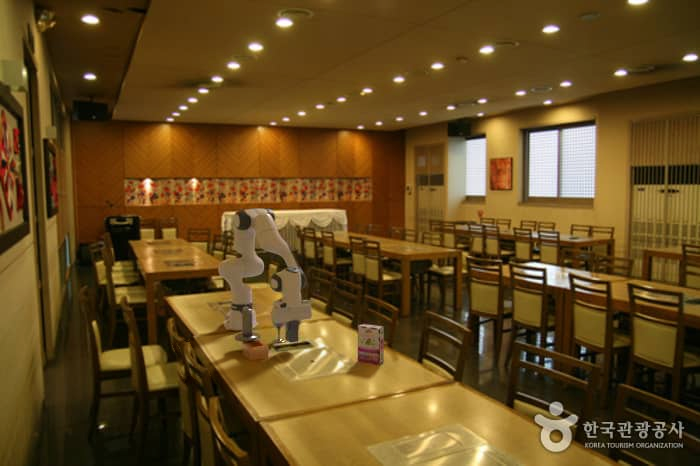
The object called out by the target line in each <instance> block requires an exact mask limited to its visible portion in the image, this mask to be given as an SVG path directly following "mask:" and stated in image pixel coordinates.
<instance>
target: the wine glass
mask: <svg viewBox="0 0 700 466" xmlns="http://www.w3.org/2000/svg"><path fill="white" fill-rule="evenodd" d="M271 323H272V325H273V326H274V327H275V328H276V330H277V338H275V339H273V340H271V342H272V343H274V344H282V343H285V342H286V341H287V340H286V339H284V338H281V336H280V335H281V329H282V328H283V327H284V326H283V324H282V323H277V324H275V323H273V322H272V321H271Z"/></svg>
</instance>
